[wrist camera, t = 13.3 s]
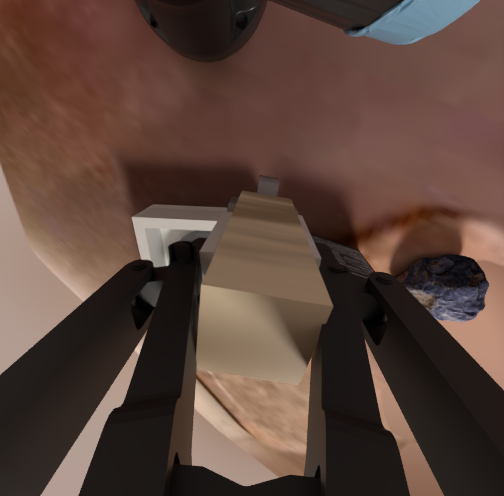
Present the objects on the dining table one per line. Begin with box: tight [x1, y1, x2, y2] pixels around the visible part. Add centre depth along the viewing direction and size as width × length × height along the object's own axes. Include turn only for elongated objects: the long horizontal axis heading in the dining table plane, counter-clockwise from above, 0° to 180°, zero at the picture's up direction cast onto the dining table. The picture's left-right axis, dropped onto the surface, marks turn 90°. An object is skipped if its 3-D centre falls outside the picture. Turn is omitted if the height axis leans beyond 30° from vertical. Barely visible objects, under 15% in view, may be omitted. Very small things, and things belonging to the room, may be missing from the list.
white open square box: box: [132, 204, 227, 267], centre depth 37 cm, size 19×19×7 cm
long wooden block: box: [196, 175, 333, 385], centre depth 14 cm, size 6×6×15 cm
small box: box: [311, 234, 375, 279], centre depth 34 cm, size 11×6×10 cm, turn 72°
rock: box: [397, 254, 489, 322], centre depth 36 cm, size 11×10×10 cm
